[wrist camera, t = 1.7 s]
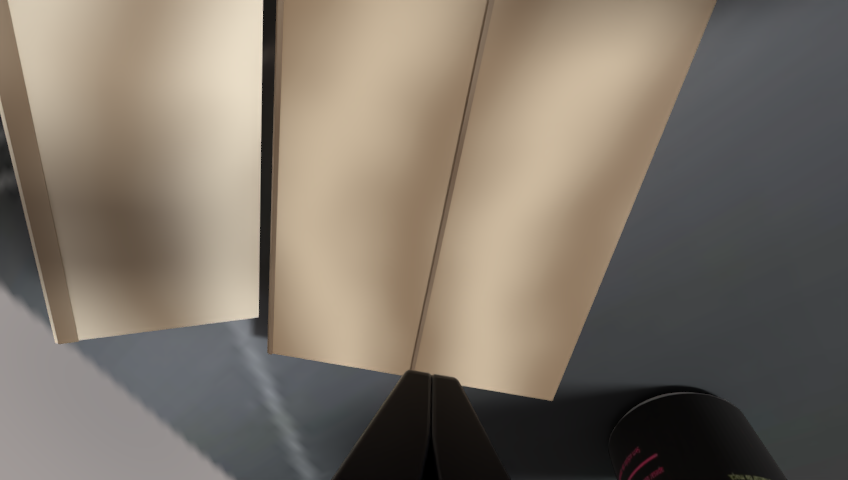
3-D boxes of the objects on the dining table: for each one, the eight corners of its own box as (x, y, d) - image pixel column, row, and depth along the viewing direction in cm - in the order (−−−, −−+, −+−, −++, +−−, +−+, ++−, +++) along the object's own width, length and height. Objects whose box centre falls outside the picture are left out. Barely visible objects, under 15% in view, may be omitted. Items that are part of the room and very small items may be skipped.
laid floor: (751, -135, 14) (778, -146, 13) (547, 381, 23) (552, 401, 22) (296, -229, 13) (282, -248, 12) (276, 335, 23) (266, 353, 22)
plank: (258, -149, 14) (265, -154, 13) (254, 300, 22) (258, 318, 21) (-67, -239, 11) (-89, -254, 10) (60, 322, 18) (54, 344, 17)
